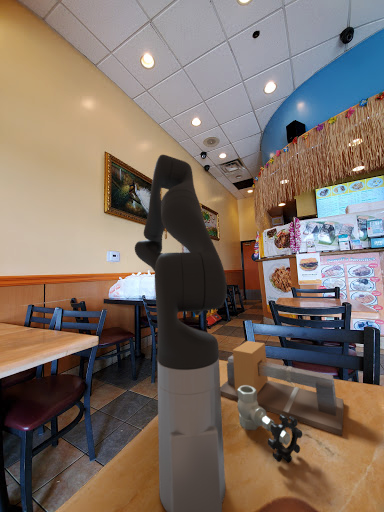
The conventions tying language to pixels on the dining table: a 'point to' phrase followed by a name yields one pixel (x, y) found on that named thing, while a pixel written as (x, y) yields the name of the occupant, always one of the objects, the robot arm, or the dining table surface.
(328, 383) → the rectangular bar
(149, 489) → the dining table surface
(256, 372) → the collar
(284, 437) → the valve
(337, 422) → the board
